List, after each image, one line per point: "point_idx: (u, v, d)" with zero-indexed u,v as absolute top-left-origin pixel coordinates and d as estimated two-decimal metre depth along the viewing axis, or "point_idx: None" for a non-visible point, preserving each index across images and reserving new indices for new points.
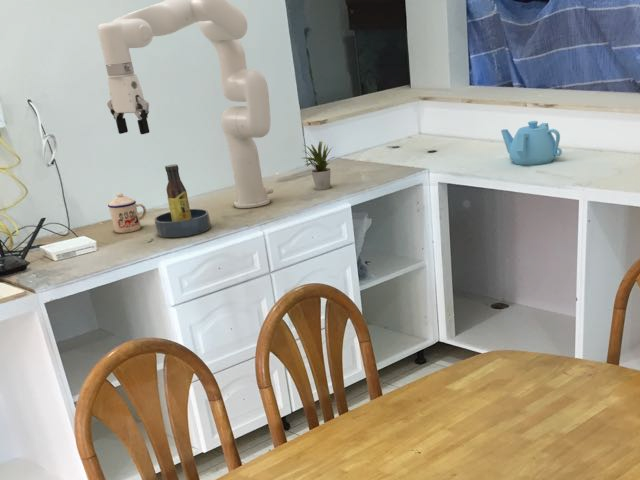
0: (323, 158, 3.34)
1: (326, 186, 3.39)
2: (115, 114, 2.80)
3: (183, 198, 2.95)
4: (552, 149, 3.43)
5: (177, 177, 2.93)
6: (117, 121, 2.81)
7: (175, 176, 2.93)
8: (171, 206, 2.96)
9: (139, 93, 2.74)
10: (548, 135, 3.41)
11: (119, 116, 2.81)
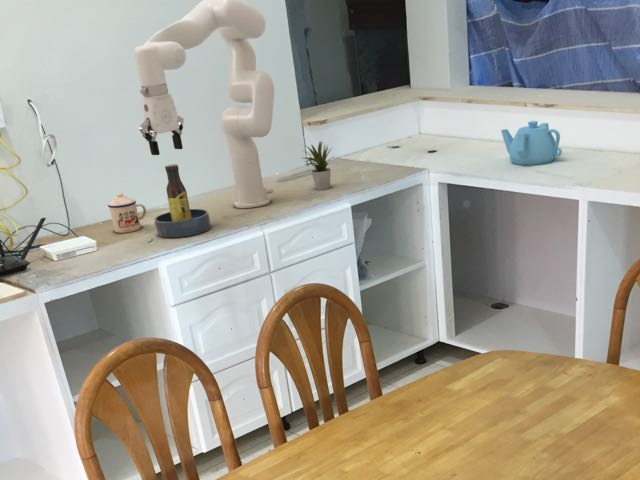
0: (323, 158, 3.34)
1: (326, 186, 3.39)
2: None
3: (183, 198, 2.95)
4: (553, 149, 3.43)
5: (177, 177, 2.93)
6: None
7: (175, 176, 2.93)
8: (171, 206, 2.96)
9: (149, 116, 2.80)
10: (548, 135, 3.41)
11: (175, 132, 2.90)
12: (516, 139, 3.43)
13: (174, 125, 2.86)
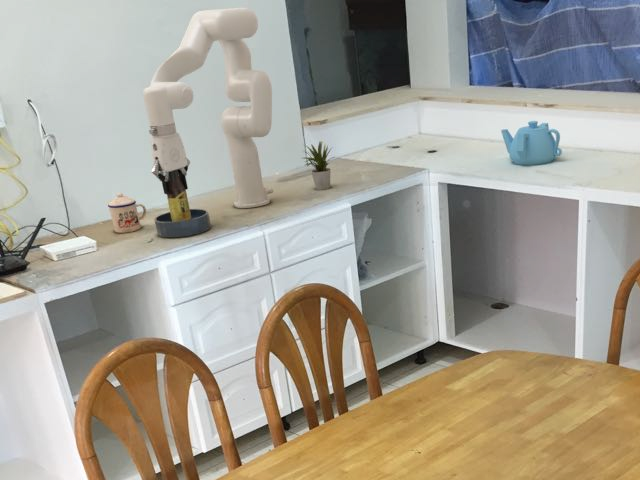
0: (323, 158, 3.34)
1: (326, 186, 3.39)
2: None
3: (182, 198, 2.95)
4: (553, 149, 3.43)
5: (176, 177, 2.93)
6: None
7: (175, 176, 2.92)
8: (171, 206, 2.96)
9: (158, 155, 2.86)
10: (548, 135, 3.41)
11: (180, 173, 2.96)
12: (516, 139, 3.43)
13: (182, 163, 2.92)
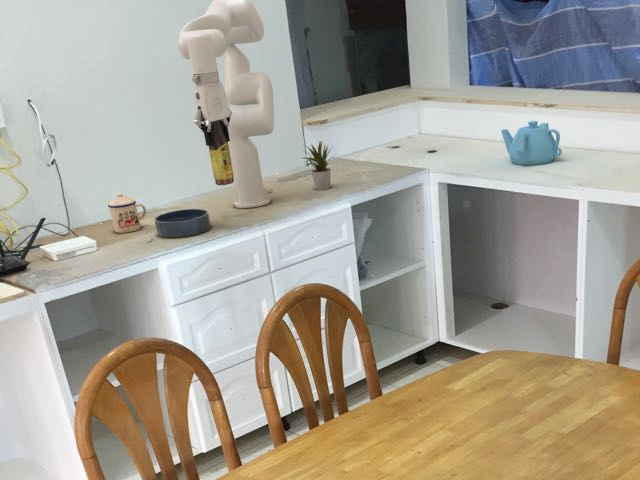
0: (323, 158, 3.34)
1: (326, 186, 3.39)
2: None
3: (224, 150, 2.88)
4: (553, 149, 3.43)
5: (219, 128, 2.86)
6: None
7: (217, 127, 2.85)
8: (212, 158, 2.89)
9: (201, 104, 2.79)
10: (548, 135, 3.41)
11: (222, 124, 2.88)
12: (516, 139, 3.43)
13: (225, 113, 2.85)
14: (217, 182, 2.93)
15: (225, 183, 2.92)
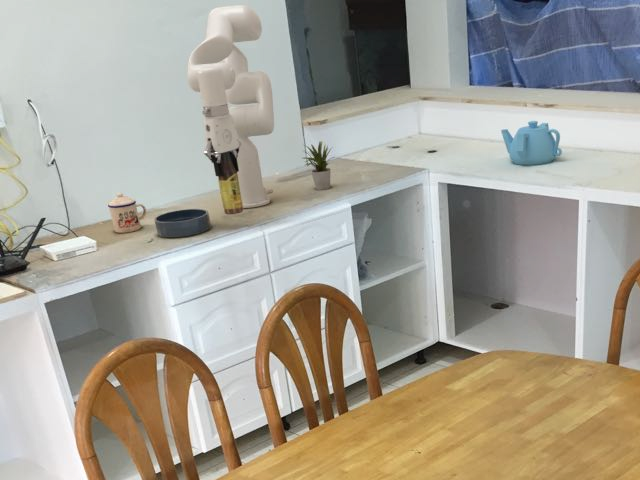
0: (323, 158, 3.34)
1: (326, 186, 3.39)
2: None
3: (234, 180, 2.92)
4: (553, 149, 3.43)
5: (228, 159, 2.90)
6: None
7: (227, 158, 2.90)
8: (222, 188, 2.94)
9: (211, 136, 2.83)
10: (548, 135, 3.41)
11: (231, 155, 2.93)
12: (516, 139, 3.43)
13: (234, 144, 2.89)
14: (226, 211, 2.97)
15: (234, 213, 2.97)
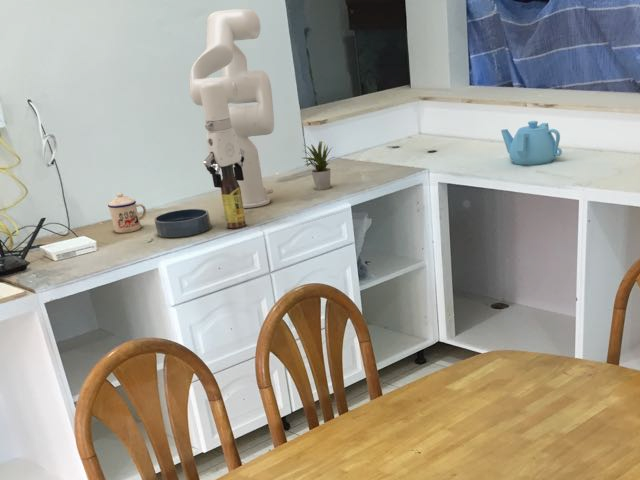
0: (323, 158, 3.34)
1: (326, 186, 3.39)
2: None
3: (237, 194, 2.95)
4: (553, 149, 3.43)
5: (231, 173, 2.93)
6: (234, 168, 2.97)
7: (230, 172, 2.92)
8: (225, 202, 2.96)
9: (213, 150, 2.85)
10: (548, 135, 3.41)
11: (236, 164, 2.96)
12: (516, 139, 3.43)
13: (236, 158, 2.91)
14: (229, 225, 3.00)
15: (236, 226, 2.99)
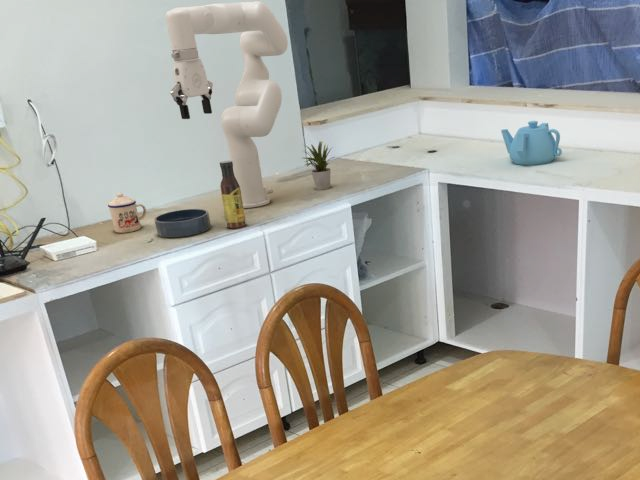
0: (323, 158, 3.34)
1: (326, 186, 3.39)
2: None
3: (237, 194, 2.95)
4: (553, 149, 3.43)
5: (231, 173, 2.93)
6: None
7: (230, 172, 2.92)
8: (225, 202, 2.96)
9: (180, 80, 2.85)
10: (548, 135, 3.41)
11: (204, 97, 2.95)
12: (516, 139, 3.43)
13: (204, 89, 2.91)
14: (229, 225, 3.00)
15: (236, 226, 2.99)
